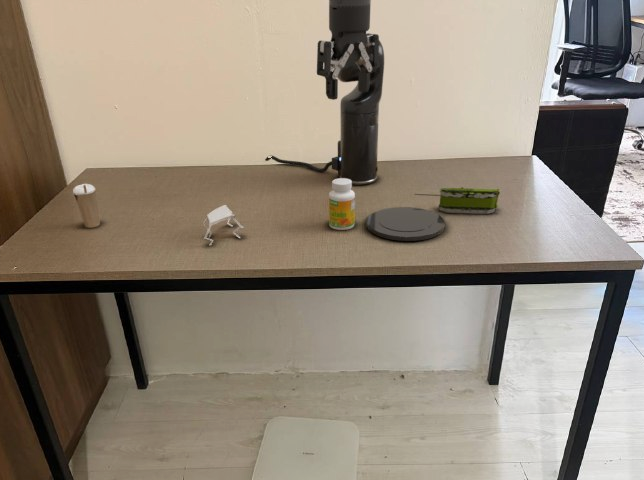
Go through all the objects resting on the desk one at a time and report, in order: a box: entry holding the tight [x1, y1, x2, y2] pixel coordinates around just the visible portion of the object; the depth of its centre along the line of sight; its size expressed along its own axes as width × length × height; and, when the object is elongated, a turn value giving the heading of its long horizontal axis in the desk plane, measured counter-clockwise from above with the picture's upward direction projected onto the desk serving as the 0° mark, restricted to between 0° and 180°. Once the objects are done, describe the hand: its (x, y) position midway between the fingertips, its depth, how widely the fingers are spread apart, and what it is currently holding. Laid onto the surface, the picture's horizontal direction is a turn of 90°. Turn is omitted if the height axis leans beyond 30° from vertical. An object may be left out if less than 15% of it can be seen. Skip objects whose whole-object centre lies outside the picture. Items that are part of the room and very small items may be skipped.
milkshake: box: [72, 183, 101, 229], centre depth 123 cm, size 5×5×10 cm
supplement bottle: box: [328, 177, 356, 231], centre depth 118 cm, size 5×5×10 cm
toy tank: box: [413, 187, 501, 215], centre depth 125 cm, size 7×19×10 cm
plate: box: [366, 206, 446, 242], centre depth 118 cm, size 16×16×1 cm
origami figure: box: [202, 204, 245, 246], centre depth 117 cm, size 12×8×5 cm
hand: (348, 95), depth 111 cm, fingers open, 8 cm apart
